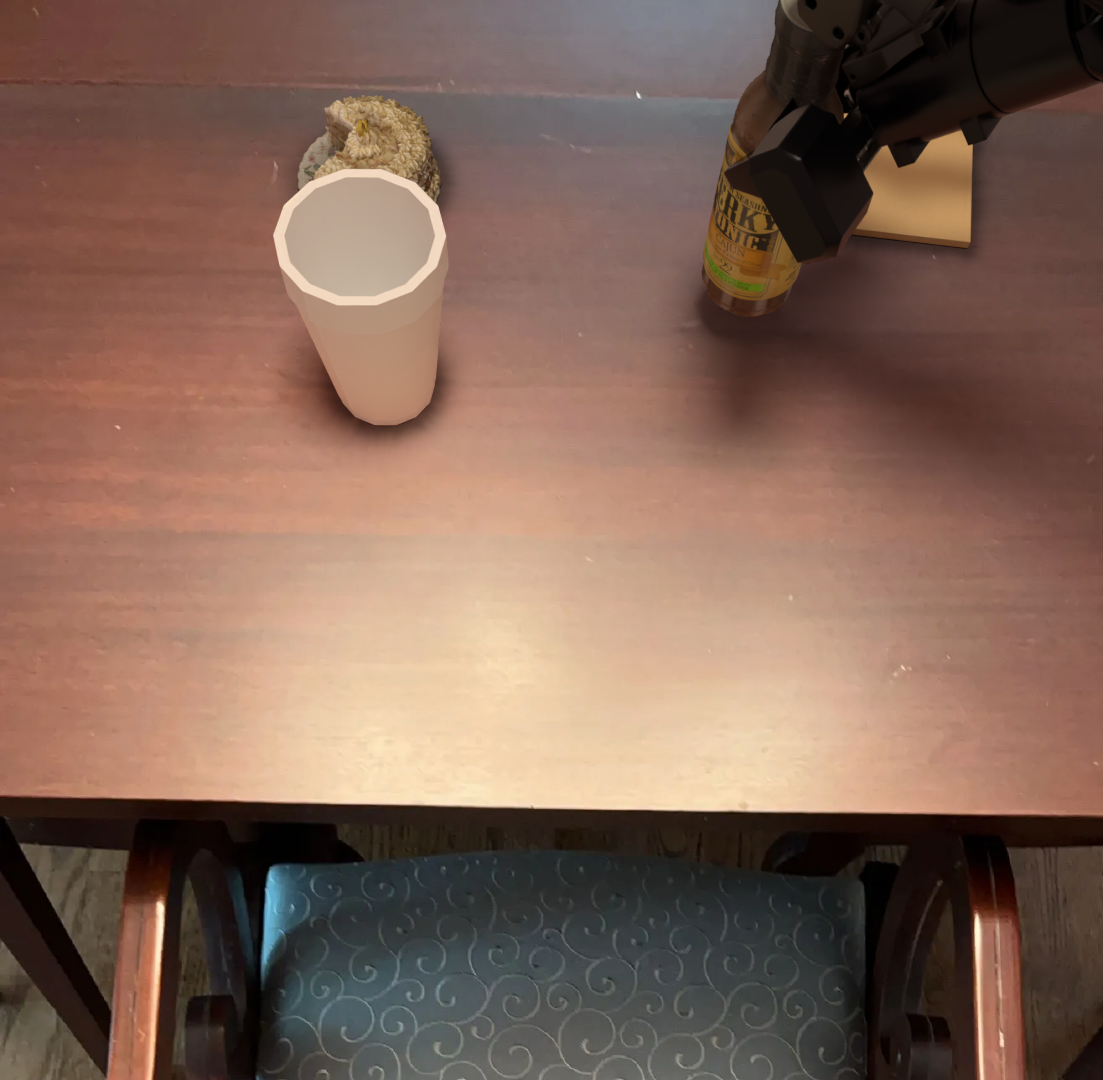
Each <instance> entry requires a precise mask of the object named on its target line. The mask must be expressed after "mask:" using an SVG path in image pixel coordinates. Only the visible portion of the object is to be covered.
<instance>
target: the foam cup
mask: <svg viewBox="0 0 1103 1080" xmlns="http://www.w3.org/2000/svg"><path fill="white" fill-rule="evenodd" d="M272 236H273V242H274V246H275V250H276V255H277V260H278V265H279V269H280V272H281V277H282V280H283V283H284V287H285V291H286V294H287V297H288V298H289V299H290V301H292V302H293V304H294V305H295V306H296V308H297V310H298V313H299V314H300V317H301V319H302V321H303V323H304V326H305V327H306V329H307V332H308V334H309V336H310V338H311V340H312V342H313V345H314V346H315V348H316V351H317V353H318V355H319V358H320V359H321V362H322V363H323V366H324V368H325V370H326V372H327V374H328V376H329V378H330V381H331V383H332V384H333V387H334V389H335V391H336V393H337V395H338V397H339V399H340V400H341V403H342V404H343V405H344V406H345V408H346V409H347V410H348V411H349V412H350V414H352V415H353V417H354V418H356V419H359V420H361V421H364V422H366V423H369V424H371V425H373V426H398V425H401V424H402V423H405V422H408V421H409V420H412V419H415V418H417V417H418V416H419V415H420V414H421V413H422V412H423V411H424V409H425V408H426V407H427V406H428V405H429V404H430V403H431V401H432V397H433V394H434V390H435V386H436V380H437V371H438V358H439V347H440V345H439V344H440V335H441V324H442V311H443V301H444V300H443V299H444V289H445V288H444V286H445V281H446V278H447V275H448V272H449V269H450V262H449V252H448V240H447V233H446V230H445V226H444V223H443V219H442V215H441V211H440V207H439V205H438V204H437V202H436V203H435V202H434V201H433V200H432V199H431V198H430V197H429V196H428V195H427V194H426V193H425V192H424V191H423V190H422V189H421V188H420V187H419V186H418V185H417V184H416V183H415V182H413V181H410V180H408V179H405V178H403V177H400V176H398V175H395V174H393V173H390V172H387V171H385V170H382V169H343V170H340V171H337V172H334V173H332V174H329V175H326V176H324V177H321V178H318V179H315V180H313V181H310V182H308V183H307V184H306V185H305V186H304V187H303V188H302V189H301V190H300V189H299V191H297V192H296V193H295V194H294V195H293V196H292V197H291V198H290V199H289V200H288V201H287V202H286V203H284V205H283V207H282V208H281V213H280V215H279V217H278V221H277V223H276V226H275V229H274V232H273V234H272Z"/></svg>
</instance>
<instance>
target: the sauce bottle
mask: <svg viewBox="0 0 1103 1080" xmlns="http://www.w3.org/2000/svg"><path fill="white" fill-rule="evenodd" d="M797 1H798V0H778V1H777V6H776V8H775V11H774V12H775V13H774V35H773V39H772V42H771V43H770V44H771V45H770V51H769V55H768V56H767V58H766V61H765V62H766V63H765V67H764V70H763V71H762V72H761V73H760V74H759V75H757V76H756V77H755V78H754V79H753V80H752V81H751V82H749V83H748V85H747V86H746V87H745V89H744V92H743V93H742V95H741V96H740V98H739V101H738V103H737V105H736V109H735V111H734V116H733V119H732V123H731V124H730V125H729V130H728V134H727V138H726V143H725V149H724V154H723V158H722V163H721V167H720V170H719V171H720V172H719V175H718V179H717V184H716V189H715V193H714V198H713V203H712V209H711V214H710V218H709V223H708V228H707V232H706V233H707V234H706V238H705V242H704V247H703V251H702V252H703V253H702V262H703V263H702V269H701V280H702V282H703V286H704V288H705V290H706V292H707V295H708V297H709V299H710V300H711V301H712V302H713V303H714V304H715V305H716V306H718V307H720V308H722V309H723V310H725V311H726V312H729V313H731V314H733V315H735V316H737V317H743V318H751V317H759V316H764V315H767V314H771V313H774V312H776V311H777V310H778V309H780V308H781V306H782V305H783V304H784V303H785V302H786V300H787V299H788V298H789V295H790V293H791V291H792V288H793V287H794V284H795V282H796V281H797V278H798V276H799V274H800V270H801V268H802V265H803V264H802V263H797V261H796V259H795V258H794V256H793V254H792V252H791V250H790V249H789V247H788V245H787V243H786V242H785V240H784V238H783V236H782V234H781V233H780V231H779V229H778V227H777V226H776V224H775V222H774V220H773V218H772V217H771V215H770V213H769V211H768V209H767V208H766V206H765V204H764V202H763V201H762V199H761V198H758V197H756V196H753V195H750V194H747V193H744V192H741V191H738V190H735V189H733V188H732V187H731V185H730V184H729V182H728V180H727V178H726V177H725V174H724V172H725V171H726V169H727V168H728V167H729V166H731V165H732V164H734V163H735V162H737V161H738V160H739V159H741V158H742V157H744V156H746V155H747V154H749V153H750V152H752V151H754V150H755V149H756V148H757V147H758V146H759V144H760V143H761V142H762V140H763V139H764V138H765V137H766V134H767V131H768V129H769V128H770V127H771V125H772V124H773V123H774V121H775V120H776V119H777V117H778V116H779V115H780V114H781V112H782V111H783V110H784V108H785V107H786V106H787V104H788V103H789V102H790V100H791V99H792V98H794V100H795V102H796V104H797V106H798V108H800V107H802V106H805V105H807V104H810V103H812V104H814V105H816V106H819V107H821V108H823V109H825V110H827V111H829V112H831V113H833V114H835V116H836V118H837V120H838V122H839V124H841V122H842V121H843V120H844V112H843V106H842V103H841V101H840V98H839V95H838V93H837V90H836V88H835V86H836V84H837V82H838V76H839V67H840V64H841V61H842V58H843V54H844V51H845V47H846V45H847V44H845V45H844V46H843V47H842V48H841V49H830V48H828V47H827V46H826V45H825V44H824V43H823V42H822V41H821V40H820V39H819V38H818V36H817V35H816V34H815V33H814V32H813V31H812V30H811V29H810V28H809V27H808V25H807V24H806V23H805V22H804V21H803V20H802V19H801V18H800V16H799V15H798V10H797Z"/></svg>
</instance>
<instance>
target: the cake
mask: <svg viewBox="0 0 1103 1080" xmlns="http://www.w3.org/2000/svg"><path fill="white" fill-rule="evenodd" d="M324 112H325V115H326V122H327V123H326V124H327V125H328V126H327V125H324V128H325V129H326V132H324V134H323V135H321V136H318V137H317V138H316V139H315V140H314V141H313V143H311V144H310V145H309V146H308V148H307V149H306V151H305V152H304V153H303V154H302V158H301V161H300V162H299V165H298V167H299V168H298V172H297V179H298V181H297V187H298V189H299V191H300V190H301V189H302V188H303V187H304V186H305V185H306V184H307V183H308V182H310V181H313V180H315V179H318V178H321V177H324V176H326V175H329V174H332V173H334V172H337V171H340V170H343V169H382V170H385V171H387V172H390V173H393V174H395V175H398V176H400V177H403V178H405V179H408V180H410V181H413V182H415V183H416V184H417V185H418V186H419V187H420V188H421V189H422V190H423V191H424V192H425V193H426V194H427V195H428V196H429V197H430V198H431V199H432V200H433V201H434V202H435V203H436V204H437V202H438V197H439V196H440V194H441V186H442V180H441V170H440V169H439V163H438V161H437V159H436V158H435V156H434V153H433V151H432V149H433V145H432V143H431V142H432V138H431V137H430V136H429V135H430V132H429V125H426V124H425V122H424V116H422V115H419V116H418V115H417V114H418V113H416V112H414V109H413V108H411V107H409V106H407V105H404V104H402V105H401V104H400V103H399V101H397V100H395V99H394V98H393V99H391V98H388V99H387V100H385V99H384V96H383V95H378V94H376V95H373V96H372V95H367V96H366V95H365V94H362V95H360V97H359V96H357V97H352V95H349V96H348V97H344V98H343V99H342V100H339V99H338V100H337V99H336V100H335V101H334V102H332V103H331V105H329V106H326V107H324Z"/></svg>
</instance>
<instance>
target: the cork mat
mask: <svg viewBox="0 0 1103 1080" xmlns="http://www.w3.org/2000/svg"><path fill="white" fill-rule="evenodd" d="M847 114H848V113H846V114H844V118H845V117H846V116H847ZM973 147H974V144H972V145H969V146H968V144H967V142H966V139H965V137H964V135H963V132H962V130H961V131H958V132H955V133H952V134H949V135H946V136H943V137H940V138H937V139H934V140H931V141H930V142H929V143H928V145H927V146H926V148H925V149H924V150H923V152H922V153H921V155H920V156H919V158H918V159H917V160H916V162H915V163H913V164H910V165H907V166H904V167H901V168H898V167H897V165H896V163H895V160H894V158H893V156H892V154H891V152H890V150H889V148H888V146H884V147H882V148H881V149H880V151H879V152H878V154H877V155H876V156H875V158H874V159H873V160H872V162H871V163H870V165H869V166H868V167H867V169H866V170H865V172H864V175H865V177H866V179H867V181H868V183H869V185H870V187H871V189H872V191H873V193H874V194H873V197H872V200H871V203H870V205H869V208H868V211H867V214H866V215H865V216H864V218H863V219H862V221H861V222H860V223H859V225H858V226H857V228H856V229H855V230H854V232H853V233H852V235H853V236H861V237H868V238H878V239H886V240H894V241H904V242H912V243H921V244H929V245H937V246H946V247H955V248H961V249H968V248H969V247H970V244H971V240H972V239H971V238H972V237H971V236H972V198H973V197H972V195H973V194H972V193H973V191H972V190H973V153H974V152H973ZM852 235H851V236H852Z"/></svg>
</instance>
